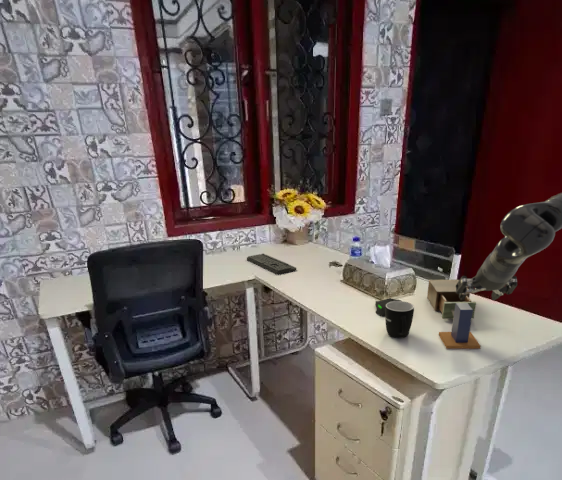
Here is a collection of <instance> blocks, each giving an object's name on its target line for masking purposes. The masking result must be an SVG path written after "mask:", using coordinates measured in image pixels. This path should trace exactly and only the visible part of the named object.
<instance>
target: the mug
mask: <svg viewBox="0 0 562 480" xmlns="http://www.w3.org/2000/svg"><path fill="white" fill-rule="evenodd" d="M414 313H415V305H414V304H413V303H411V302H409V301H404V300H401V301H392V302H389V303H387V304H386V307H385V317H384V318H385V319H384V320H385V330H386V333H387V334H388V335H389V337H391V338H395V339H402V338H403V339H404V338H406V337H407V336H408V335H409V333H410V331H411V327H412V324H413V320H414Z"/></svg>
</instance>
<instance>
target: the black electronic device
mask: <svg viewBox="0 0 562 480" xmlns="http://www.w3.org/2000/svg"><path fill="white" fill-rule="evenodd" d="M392 301H402V300H401V299H396V298H392V297H389V298H385V299H382V300H375V301H374V302H375V303H374V305H375V308H376V310H375V313H376V315H377V316H379V317H382V318H385V307H386V304H387V303H389V302H392Z"/></svg>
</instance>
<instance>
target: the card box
mask: <svg viewBox="0 0 562 480" xmlns="http://www.w3.org/2000/svg"><path fill="white" fill-rule="evenodd" d="M472 313H473V309H472V308H471V307H470V305H469V304H468V303H456V304H455V311H454V318H453V319H452V325H451V326H452V327H451V331H450V332H451V336H452V337H453V339H454V340H455V342H456V343H467V342H468V337H469V332H471V331H470V330H471V325H472V319H473V318H472Z"/></svg>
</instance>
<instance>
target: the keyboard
mask: <svg viewBox="0 0 562 480" xmlns="http://www.w3.org/2000/svg"><path fill="white" fill-rule="evenodd" d="M246 261H247V262H249V263H251V264H254V265H256V266H258V267H260V268H262V269H265V270H267V271H269V272H271V273H272V274H275V275H283V274H287V273H291V272H297V267H296V266H293V265H291V264H289V263H287V262H285V261H282V260H280V259H278V258H275V257H273V256H271V255H268V254H265V253H259V254H253V255H248V256H247V257H246Z"/></svg>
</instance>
